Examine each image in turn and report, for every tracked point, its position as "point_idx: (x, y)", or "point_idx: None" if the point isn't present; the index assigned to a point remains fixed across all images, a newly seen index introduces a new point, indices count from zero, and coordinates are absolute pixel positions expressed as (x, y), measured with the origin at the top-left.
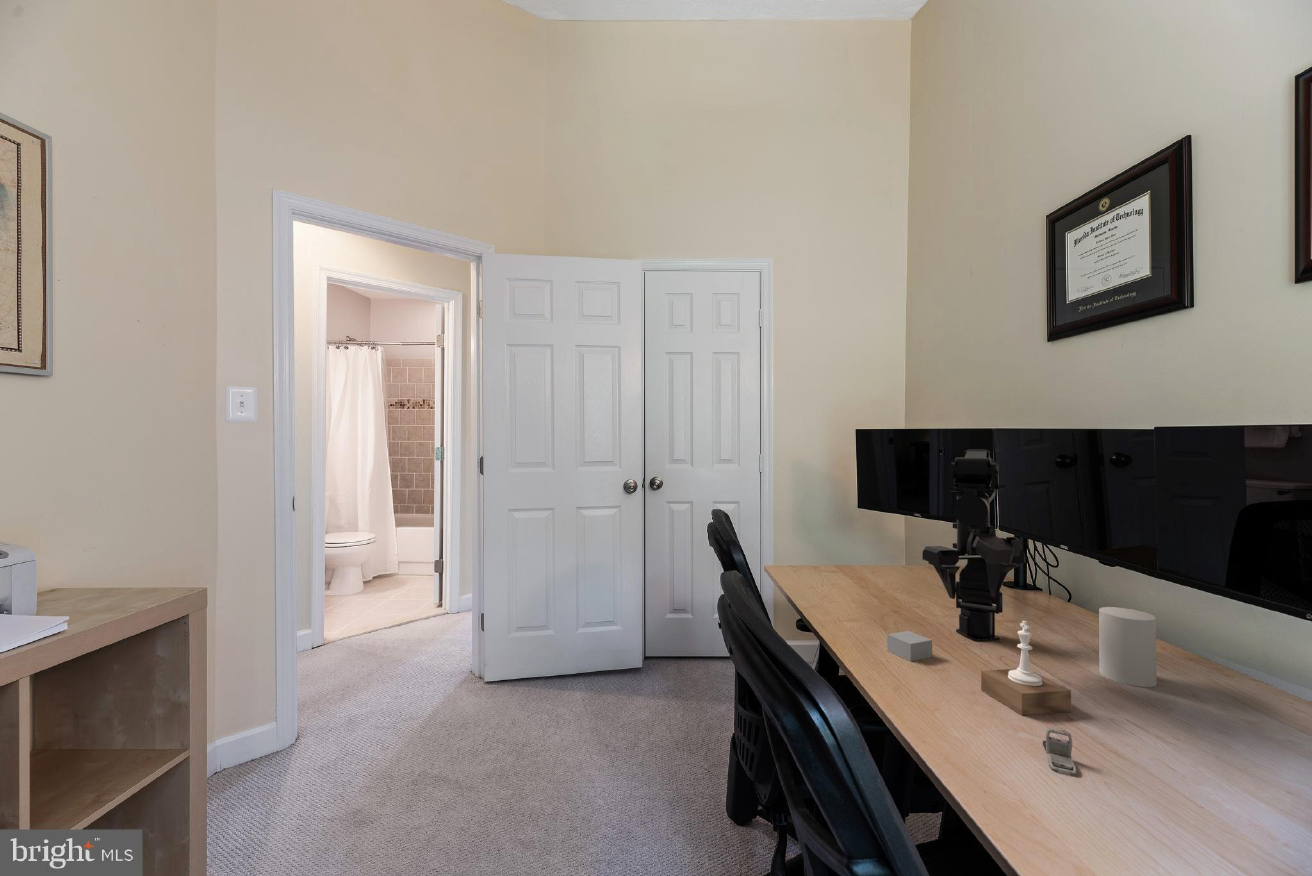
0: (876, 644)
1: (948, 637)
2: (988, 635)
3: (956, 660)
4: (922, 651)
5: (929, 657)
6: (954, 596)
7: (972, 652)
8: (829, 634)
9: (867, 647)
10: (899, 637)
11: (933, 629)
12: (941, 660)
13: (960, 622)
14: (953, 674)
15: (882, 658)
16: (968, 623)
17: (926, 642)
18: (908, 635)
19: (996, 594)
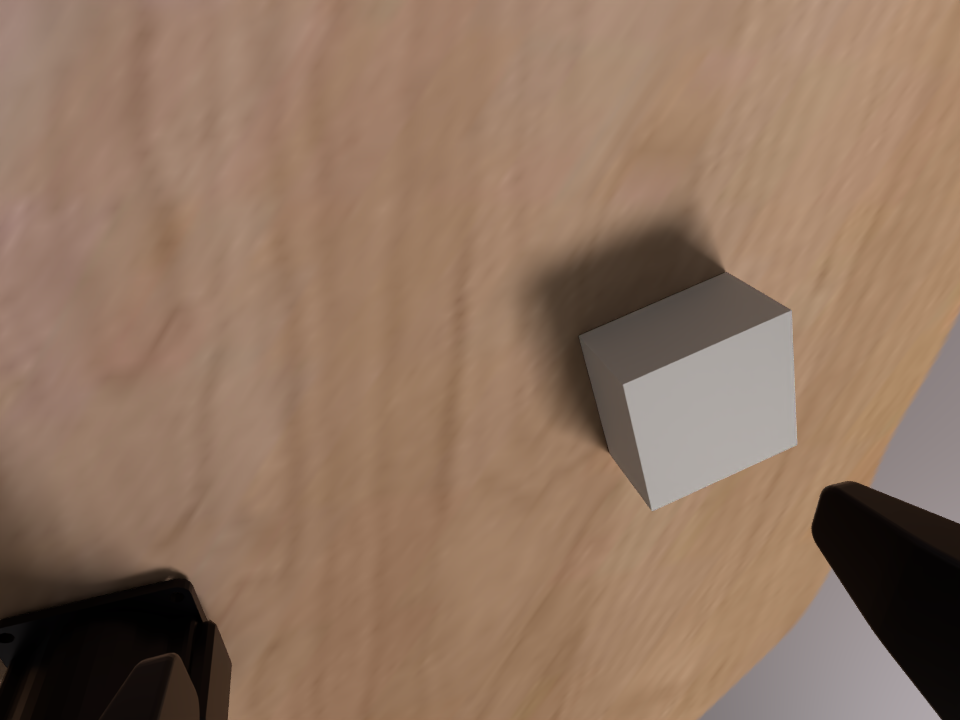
0: None
1: (316, 604)
2: (75, 629)
3: (471, 295)
4: (668, 323)
5: (597, 328)
6: (865, 499)
7: (298, 419)
8: None
9: None
10: (771, 407)
11: (336, 685)
12: (557, 292)
13: (224, 708)
14: (627, 81)
15: (821, 307)
16: (196, 686)
17: (663, 360)
18: (703, 442)
19: (140, 697)
